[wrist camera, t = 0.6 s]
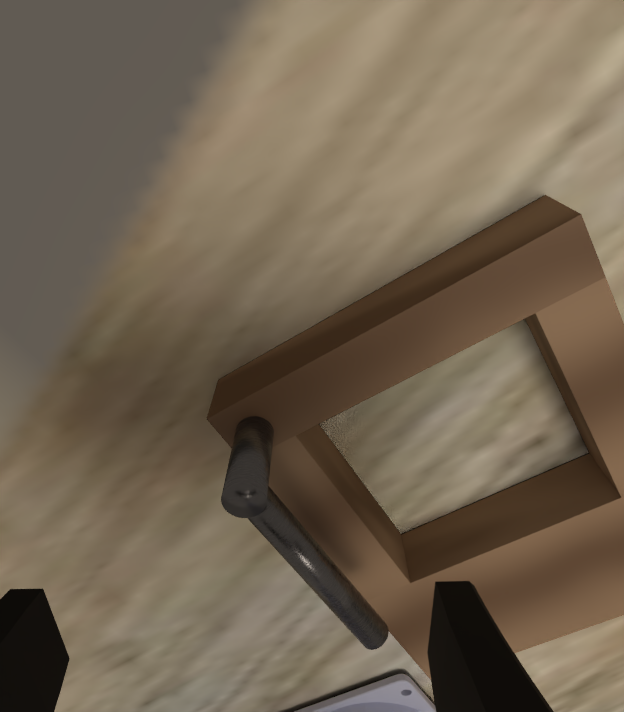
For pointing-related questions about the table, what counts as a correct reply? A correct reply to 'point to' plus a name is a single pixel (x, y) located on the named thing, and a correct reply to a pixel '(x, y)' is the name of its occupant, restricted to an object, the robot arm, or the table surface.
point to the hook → (292, 531)
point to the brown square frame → (495, 513)
